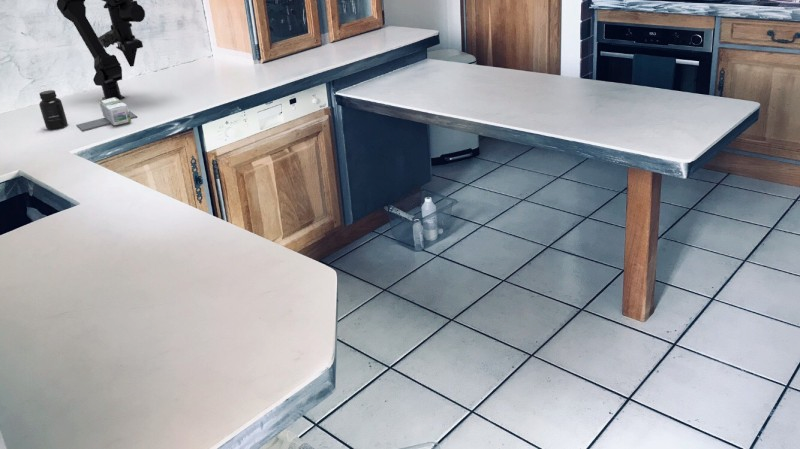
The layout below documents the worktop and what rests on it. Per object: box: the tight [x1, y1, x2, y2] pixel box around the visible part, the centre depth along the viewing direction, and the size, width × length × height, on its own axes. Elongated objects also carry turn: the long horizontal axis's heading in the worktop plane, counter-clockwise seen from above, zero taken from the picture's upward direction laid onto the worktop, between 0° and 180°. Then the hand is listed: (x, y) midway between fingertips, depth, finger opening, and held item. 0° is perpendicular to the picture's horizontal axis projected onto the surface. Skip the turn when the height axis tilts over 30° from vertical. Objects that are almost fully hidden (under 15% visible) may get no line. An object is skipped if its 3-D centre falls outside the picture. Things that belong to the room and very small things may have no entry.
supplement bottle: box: [38, 89, 69, 131], centre depth 242 cm, size 7×7×12 cm
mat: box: [76, 110, 138, 132], centre depth 244 cm, size 8×18×1 cm, turn 125°
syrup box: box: [98, 97, 132, 126], centre depth 242 cm, size 6×6×14 cm
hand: (131, 66), depth 257 cm, fingers closed
